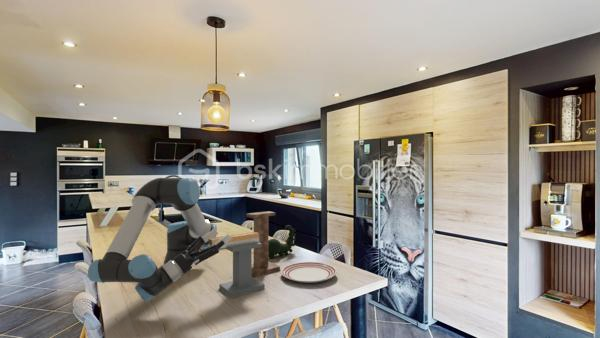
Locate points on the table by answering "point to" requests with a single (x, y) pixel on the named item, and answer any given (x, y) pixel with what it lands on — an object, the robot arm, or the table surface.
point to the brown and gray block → (237, 239)
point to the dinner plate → (308, 272)
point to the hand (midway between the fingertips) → (222, 233)
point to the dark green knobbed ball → (280, 248)
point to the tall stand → (261, 253)
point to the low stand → (242, 272)
